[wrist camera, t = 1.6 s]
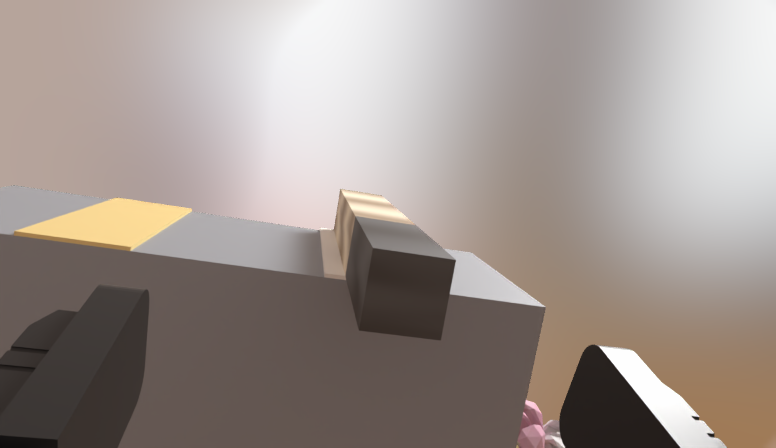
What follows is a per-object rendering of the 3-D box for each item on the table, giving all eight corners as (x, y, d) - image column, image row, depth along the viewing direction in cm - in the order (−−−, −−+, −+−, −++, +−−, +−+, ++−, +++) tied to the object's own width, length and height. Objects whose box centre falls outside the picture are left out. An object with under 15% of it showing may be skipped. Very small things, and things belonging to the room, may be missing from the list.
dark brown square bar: (440, 340, 21) (456, 259, 20) (359, 330, 20) (372, 247, 20) (374, 235, 42) (381, 195, 42) (333, 229, 42) (340, 188, 42)
